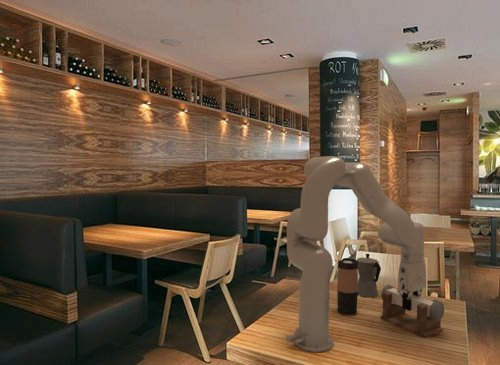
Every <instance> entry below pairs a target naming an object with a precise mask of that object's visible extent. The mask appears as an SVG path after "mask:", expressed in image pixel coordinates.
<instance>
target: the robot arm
mask: <svg viewBox="0 0 500 365" xmlns="http://www.w3.org/2000/svg"><path fill="white" fill-rule="evenodd" d="M304 164H305V165H304V167H303V171H304V175H305V177H306V180H305V182H304V184H303V186H302V189H301V195H300V208H296V209H294V210H292V212H291V213H290V214H289V216H288V219H287V222H286V255H287V259H288V261H289V262H290V264H291V265H292V266H294V267H295V268H298V269H299V270H301V271H302V274H301V277H300V280H299V285H298V327H297V328H296V329H295V332H294V333H293V334H290V335H286V336H285V337H286V338H285V339H286V342H287V343H291V342H294V345H295V346H296V347H298V348H299V349H300V350H303V351H307V352H310V353H311V352H312V353H320V352H327V351H329V350H331V349H332V348H333V347H334V343H335V341H334V338H333V337H332V336H330V332H329V331H330V327H329V326H330V282H331V281H330V280H331V276H332V270H333V257H332V254H331V253H330V251H329V250H328V249H327V248H325V247H324V246H321V245H319V244H317V243H313V242H319V241H322V240H324V239H325V238H326V236H327V235H328V233H329V232H328V231H329V196H330V193H331V191H332V190H333V188H334V187H335V186H337V187H345V188H349V189H351V191H352V192H353V194H354V195H355V197H356V198H357V200H358V202H359V203H360V204H361V207H362V208H363V210H365V211H366V212H367V213H368V214H370V215H372V216H373V217H375V218H377V219H379V220H381V221H382V222H384V223H383V224H381V225H380V226H379V228H378V229H377V230H378V231H377V234H378V238H379V240H381V241H382V242H383V243H385V244H389V245H392V246H396V247H399V248H400V261H399V262H400V263H399V266H398V268H399V269H398V276H397V278H398V279H397V285H398V288H397V289H398V290H397V292H398V293H399V294H400V295H401V297H402V308H403V309H405V311H409V312H410V311H412V310H411V300H410V295H411V294H412V295H415V296H418V297H422V291H423V290H424V289H426V288H427V271H426V270H427V269H426V264H425V263H426V262H425V261H424V260H425V259H424V258H425V256H424V255H425V254H424V253H425V251H424V250H425V226H424V224H422V223H420V222H414V221H413V219H412V218H411V216H409V214H408V213H407V212H406V210H404V209H403V208H402V207H400V206H399V205H398V204H397V203H396V202H395V201H393V200H392V199H391V198H390V197H389V196H387V194H386V193H385V191H384V190H383V188H382V186H381V184H380V183H379V181H378V180H377V178H376V177H375V175H374V173H373V171H372V170H371V168H370V167H369V166H368V165H367V164H365V163H362V162H356V161H355V162H354V161H353V162H345V160H344V159H343V158H342V157H338V156H334V155H333V156H332V155H330V156H329V155H328V156H314V157H311V158H310V159H307V160H306V162H305V163H304ZM405 291H406V292H407V294H406V293H405Z"/></svg>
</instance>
